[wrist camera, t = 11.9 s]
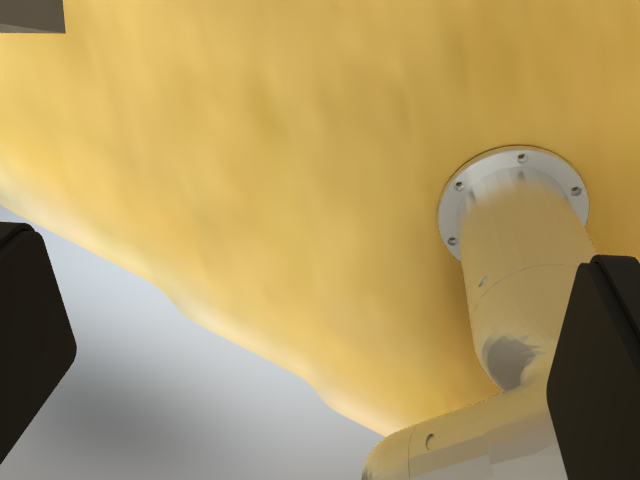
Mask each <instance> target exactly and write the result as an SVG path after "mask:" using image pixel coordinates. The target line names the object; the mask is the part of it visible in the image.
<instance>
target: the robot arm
mask: <svg viewBox="0 0 640 480" xmlns="http://www.w3.org/2000/svg"><path fill="white" fill-rule="evenodd" d="M520 154H524V155H523V156H522V157H518V156H519V155H520ZM457 182H461V184H456V183H457ZM574 187H576V188H575V189H572V188H574ZM588 213H589V199H588V194H587V191H586V188H585V185H584V183H583V181H582V179H581V178H580V176H579V174H578V173H577V172H576V171H575V169H574V168H573V167H572V166H571V165H570V164H569V163H568V162H567V161H565V160H564V159H563V158H561V157H560V156H558V155H556V154H554V153H552V152H550V151H548V150H544V149H541V148H537V147H532V146H519V145H518V146H507V147H501V148H497V149H494V150H490V151H487V152H485V153H483V154H481V155H478V156H476V157H474V158H473V159H472V160H470V161H469V162H467V163H466V164H464V165H463V166H462V167H461V168H460V169H459V170H458V171H457V172H456V173H455V174H454V175H453V176H452V177H451V179H450V180H449V181H448V183H447V184H446V186H445V188H444V190H443V192H442V195H441V197H440V201H439V206H438V225H439V232H440V234H441V237H442V240H443V242H444V244H445V246H446V247H447V249H448V250H449V252H450V253H451V254H452V255H453V256H454V257H455V258H456V259H457V260H458V261H460V262H461V263H462V269H463V276H464V283H465V290H466V297H467V304H468V310H469V317H470V324H471V331H472V336H473V343H474V348H475V351H476V355H477V358H478V360H479V362H480V364H481V366H482V368H483V370H484V371H485V373H486V374H487V375H488V376H489V378H490V379H491V380H492V382H493V383H494V384H495V385H496V386H497V387H498V388H499V389H500V390H501V391H502V392H504V393H501V394H498V395H495V396H493V397H490V398H488V399H487V400H485V401H482V402H479V403H476V404H473V405H470V406H467V407H465V408H462V409H459V410H456V411H453V412H450V413H447V414H444V415H441V416H438V417H435V418H432V419H430V420H427V421H424V422H421V423H419V424H416V425H413V426H410V427H407V428H405V429H402V430H400V431H398V432H395V433H393V434H391V435H389V436H388V437H386V438H384V439H383V440H382V441H380V442H379V443H378V444H377V445H376V446H375V447H374V448H373V449H372V451H371V452H370V454H369V456H368V457H367V459H366V462H365V465H364V468H363V472H362V480H640V264H639V262H638V261H637V259H636V258H635V257H631V256H613V255H598V253H597V251H596V249H595V248H594V246H593V244H592V242H591V240H590V238H589V236H588V234H587V232H586V230H585V229H584V228H585V226H586V223H587V220H588ZM451 237H454V238H451ZM76 349H77V346H76V342H75V338H74V335H73V332H72V329H71V326H70V323H69V319H68V316H67V313H66V310H65V307H64V303H63V301H62V297H61V294H60V291H59V288H58V284H57V281H56V278H55V275H54V272H53V269H52V265H51V262H50V259H49V256H48V253H47V250H46V246H45V243H44V240H43V238H42V236H41V235H40V234H39V233H38V232H35V230H34V229H33V228H32V227H31V225H29V224H26V223H12V222H0V464H1V463H2V462H3V460H4V459H5V457H6V456H7V454H8V453H9V452H10V450H11V449H12V448H13V446H14V445H15V443H16V442H17V441H18V439H19V438H20V436H21V435H22V434H23V432H24V430H25V429H26V428H27V427H28V425H29V424H30V422H31V421H32V420H33V418H34V417H35V415H36V414H37V413H38V411H39V410H40V408H41V407H42V406H43V404H44V403H45V401H46V400H47V399H48V397H49V396H50V394H51V393H52V392H53V390H54V389H55V387H56V386H57V385H58V383H59V382H60V380H61V379H62V377H63V376H64V375H65V373H66V372H67V371H68V369H69V368H70V366H71V364H72V363H73V362H74V359H75V356H76Z"/></svg>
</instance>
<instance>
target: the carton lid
mask: <svg viewBox="0 0 640 480" xmlns="http://www.w3.org/2000/svg"><path fill="white" fill-rule="evenodd" d="M0 33H65V22H64V11H63V1H62V0H0Z"/></svg>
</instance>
